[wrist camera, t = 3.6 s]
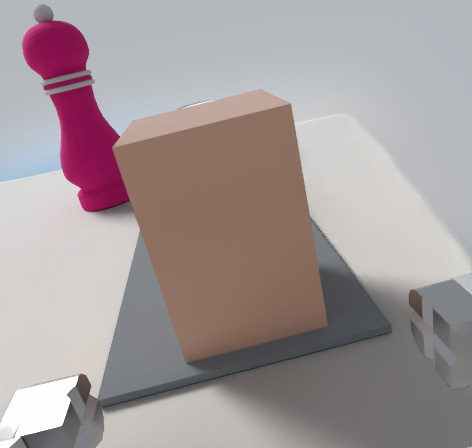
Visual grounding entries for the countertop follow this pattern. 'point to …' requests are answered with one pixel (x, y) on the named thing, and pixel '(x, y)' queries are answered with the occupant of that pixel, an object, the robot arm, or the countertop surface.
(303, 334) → the mat
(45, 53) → the pepper mill
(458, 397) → the countertop surface
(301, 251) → the tan rectangular block
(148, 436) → the countertop surface
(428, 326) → the robot arm
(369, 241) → the countertop surface
